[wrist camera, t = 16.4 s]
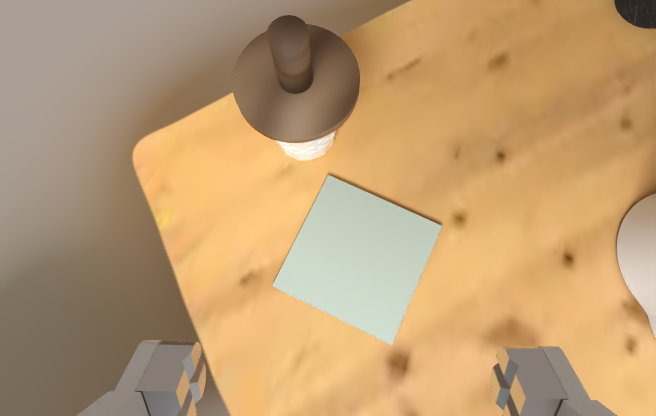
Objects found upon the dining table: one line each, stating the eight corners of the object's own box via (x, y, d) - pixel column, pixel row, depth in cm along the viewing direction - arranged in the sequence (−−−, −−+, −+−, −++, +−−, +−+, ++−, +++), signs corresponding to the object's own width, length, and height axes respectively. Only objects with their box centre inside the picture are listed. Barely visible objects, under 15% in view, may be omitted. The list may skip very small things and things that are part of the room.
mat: (441, 226, 44) (442, 225, 44) (390, 344, 42) (391, 345, 41) (328, 176, 46) (328, 174, 46) (272, 286, 43) (272, 285, 43)
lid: (377, 55, 39) (385, -3, 32) (330, 161, 36) (328, 123, 29) (267, 17, 40) (251, -48, 33) (214, 116, 37) (185, 70, 30)
